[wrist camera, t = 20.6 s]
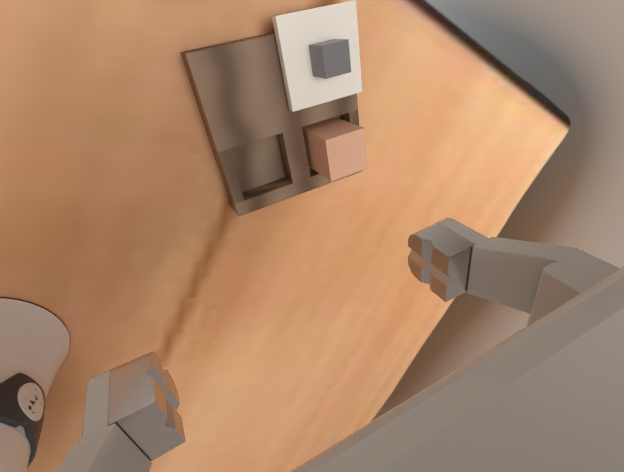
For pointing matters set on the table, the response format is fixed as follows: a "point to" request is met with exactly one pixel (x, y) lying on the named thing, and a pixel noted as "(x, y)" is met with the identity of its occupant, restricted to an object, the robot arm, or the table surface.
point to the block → (335, 148)
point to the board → (257, 121)
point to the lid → (319, 54)
